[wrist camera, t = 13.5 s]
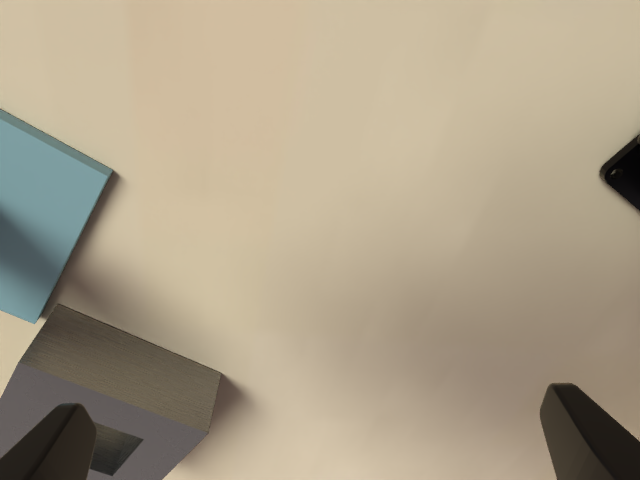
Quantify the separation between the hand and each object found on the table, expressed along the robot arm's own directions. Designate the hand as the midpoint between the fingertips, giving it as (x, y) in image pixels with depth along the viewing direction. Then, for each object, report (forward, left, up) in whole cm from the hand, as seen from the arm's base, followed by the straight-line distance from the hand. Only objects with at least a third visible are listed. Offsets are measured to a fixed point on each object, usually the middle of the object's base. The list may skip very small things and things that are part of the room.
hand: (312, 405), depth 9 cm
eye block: (+1, +21, -13) cm, 25 cm away
